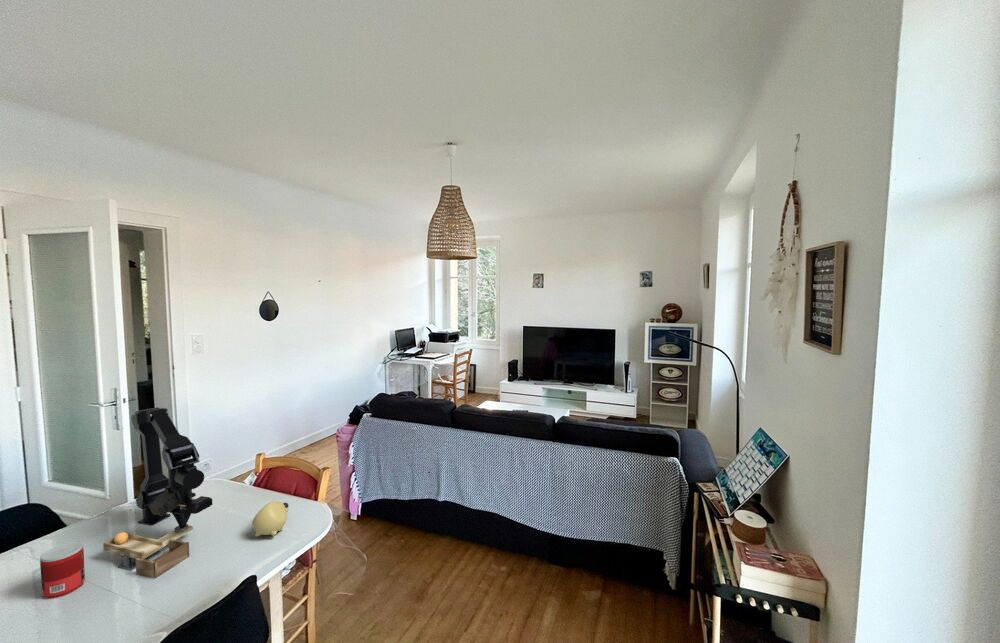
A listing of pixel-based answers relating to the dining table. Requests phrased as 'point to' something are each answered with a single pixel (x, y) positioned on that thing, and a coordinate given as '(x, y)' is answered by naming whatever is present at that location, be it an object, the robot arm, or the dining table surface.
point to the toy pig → (270, 518)
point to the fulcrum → (133, 561)
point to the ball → (121, 538)
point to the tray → (163, 560)
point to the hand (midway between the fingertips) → (182, 527)
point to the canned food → (62, 569)
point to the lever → (143, 543)
